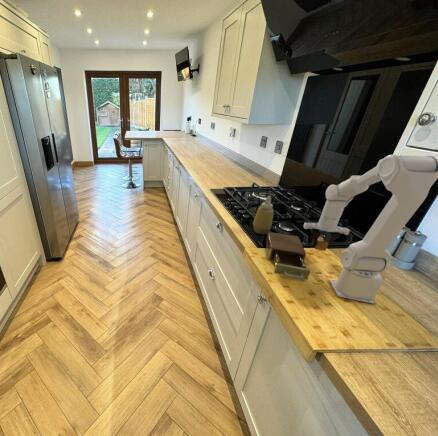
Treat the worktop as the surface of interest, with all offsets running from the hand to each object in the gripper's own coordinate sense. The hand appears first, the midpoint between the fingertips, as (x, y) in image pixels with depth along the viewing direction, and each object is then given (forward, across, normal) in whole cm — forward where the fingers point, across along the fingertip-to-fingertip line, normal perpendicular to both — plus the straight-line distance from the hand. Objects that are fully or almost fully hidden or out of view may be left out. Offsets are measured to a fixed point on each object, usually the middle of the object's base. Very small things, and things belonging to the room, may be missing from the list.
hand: (318, 246), depth 95 cm
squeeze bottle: (+4, +20, -13) cm, 24 cm away
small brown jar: (0, 0, 0) cm, 1 cm away
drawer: (+3, +13, +16) cm, 21 cm away
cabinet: (+4, +13, +4) cm, 14 cm away
